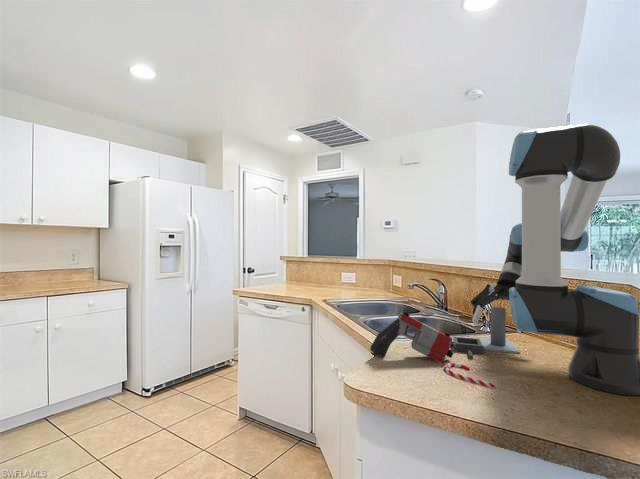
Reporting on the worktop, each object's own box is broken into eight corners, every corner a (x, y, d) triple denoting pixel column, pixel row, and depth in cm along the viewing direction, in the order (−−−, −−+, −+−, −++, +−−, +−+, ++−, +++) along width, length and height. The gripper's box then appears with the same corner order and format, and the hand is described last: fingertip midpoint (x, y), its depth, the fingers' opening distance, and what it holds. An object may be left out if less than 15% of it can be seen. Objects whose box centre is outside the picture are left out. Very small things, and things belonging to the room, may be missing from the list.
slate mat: (519, 353, 103) (519, 351, 103) (484, 350, 106) (484, 348, 106) (510, 342, 114) (510, 340, 114) (478, 339, 117) (478, 337, 117)
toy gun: (437, 387, 95) (461, 342, 94) (369, 350, 99) (392, 306, 98) (435, 380, 100) (457, 336, 99) (370, 345, 104) (391, 303, 103)
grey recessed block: (486, 360, 96) (485, 352, 96) (456, 357, 99) (456, 349, 99) (479, 346, 110) (479, 338, 110) (453, 343, 112) (453, 336, 112)
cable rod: (506, 346, 107) (507, 306, 107) (491, 345, 108) (491, 305, 108) (503, 342, 111) (504, 304, 111) (489, 341, 113) (489, 303, 113)
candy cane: (486, 387, 77) (436, 365, 90) (486, 393, 77) (436, 370, 90) (507, 381, 80) (456, 361, 94) (506, 386, 80) (456, 365, 94)
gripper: (555, 288, 111) (541, 341, 101) (479, 281, 129) (461, 325, 119) (550, 273, 107) (536, 327, 97) (473, 268, 126) (454, 313, 116)
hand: (495, 326), depth 108 cm, fingers open, 13 cm apart
